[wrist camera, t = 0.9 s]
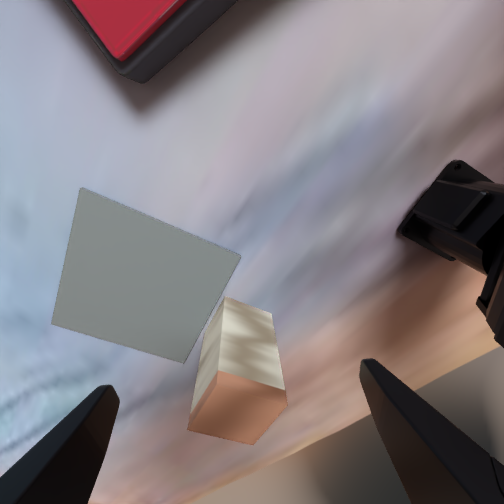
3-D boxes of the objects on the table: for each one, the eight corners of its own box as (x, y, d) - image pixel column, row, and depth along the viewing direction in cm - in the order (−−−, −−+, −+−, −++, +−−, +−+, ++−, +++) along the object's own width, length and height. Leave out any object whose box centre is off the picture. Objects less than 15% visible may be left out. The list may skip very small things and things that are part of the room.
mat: (240, 255, 21) (240, 256, 21) (184, 361, 26) (183, 363, 26) (82, 187, 18) (79, 188, 18) (53, 321, 23) (51, 324, 23)
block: (271, 313, 24) (287, 404, 16) (248, 347, 26) (253, 445, 18) (224, 296, 23) (216, 384, 15) (204, 333, 25) (187, 430, 16)
